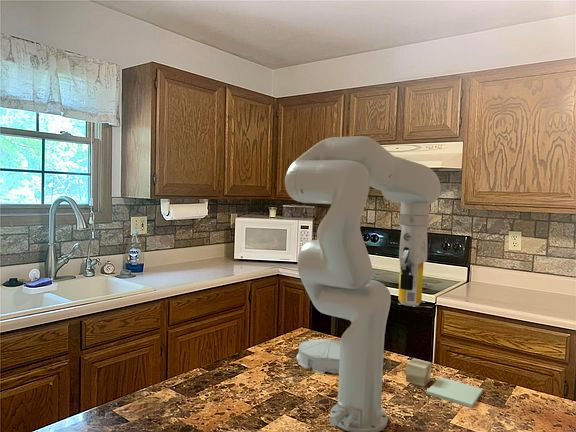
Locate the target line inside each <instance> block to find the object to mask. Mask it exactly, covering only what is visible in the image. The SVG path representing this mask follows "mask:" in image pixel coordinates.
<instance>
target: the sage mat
mask: <svg viewBox="0 0 576 432" xmlns="http://www.w3.org/2000/svg"><path fill="white" fill-rule="evenodd" d="M483 392H484V388H482V387H478V386H474V385H470V384H467V383H463V382H460V381H456V380H452V379H448V378H445V377H442V376H440V377H438V379H437V380H436V381H434V382H433V384H432V385H431V386H430V387H429V388H428V389H427V390H426V393H425V394H426V395H428V396H432V397H435V398H439V399H442V400H445V401H448V402H451V403H454V404H456V405H457V404H458V405H460V406H464V407H467V408H471V409H472V408H473V407H474V405H475V404H476V403H477V401H478V400H479V398H480V397H481V395H482V394H483Z"/></svg>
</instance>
